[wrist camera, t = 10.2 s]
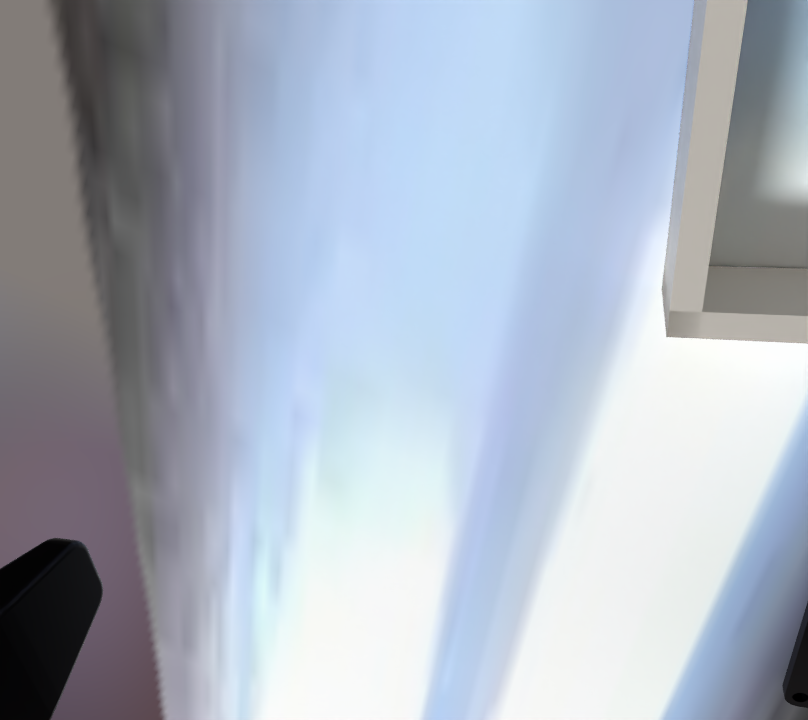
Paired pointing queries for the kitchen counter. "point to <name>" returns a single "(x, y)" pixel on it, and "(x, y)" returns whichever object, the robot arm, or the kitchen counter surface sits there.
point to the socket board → (698, 200)
